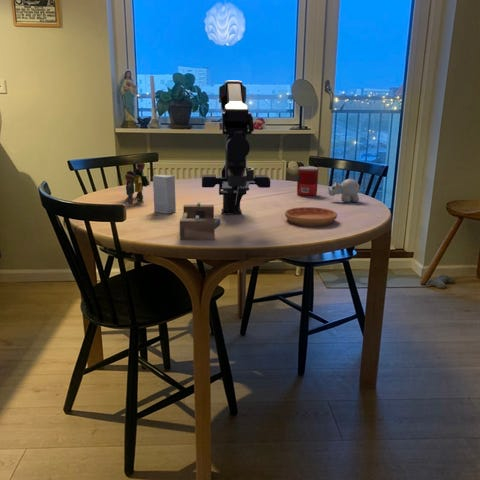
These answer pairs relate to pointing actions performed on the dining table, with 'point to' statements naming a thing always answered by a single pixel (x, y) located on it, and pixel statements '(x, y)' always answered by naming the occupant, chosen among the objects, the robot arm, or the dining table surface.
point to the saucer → (311, 216)
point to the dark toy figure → (136, 184)
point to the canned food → (307, 181)
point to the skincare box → (164, 194)
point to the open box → (197, 222)
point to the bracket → (216, 221)
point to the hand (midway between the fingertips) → (235, 211)
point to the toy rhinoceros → (346, 190)
